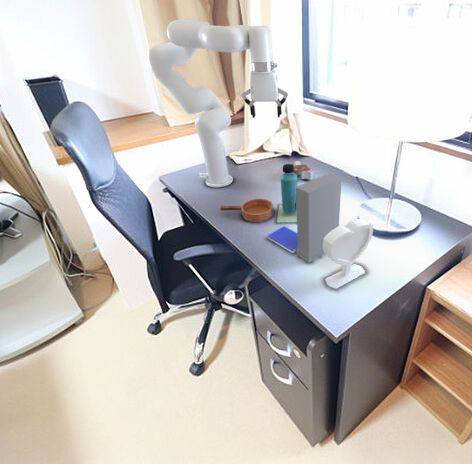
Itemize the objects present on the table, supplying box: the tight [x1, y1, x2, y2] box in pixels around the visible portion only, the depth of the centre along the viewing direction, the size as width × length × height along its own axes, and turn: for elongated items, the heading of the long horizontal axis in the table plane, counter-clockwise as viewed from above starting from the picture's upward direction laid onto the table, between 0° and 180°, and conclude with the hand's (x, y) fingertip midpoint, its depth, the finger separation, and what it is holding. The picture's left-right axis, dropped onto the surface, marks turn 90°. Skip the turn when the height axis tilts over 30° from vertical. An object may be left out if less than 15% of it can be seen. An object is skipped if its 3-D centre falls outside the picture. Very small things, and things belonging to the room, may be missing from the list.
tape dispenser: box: [292, 160, 315, 181], centre depth 153 cm, size 18×5×20 cm
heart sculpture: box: [323, 218, 374, 289], centre depth 91 cm, size 16×5×18 cm, turn 125°
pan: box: [240, 198, 274, 223], centre depth 125 cm, size 12×12×4 cm
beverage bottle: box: [279, 163, 298, 214], centre depth 120 cm, size 6×7×20 cm
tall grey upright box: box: [295, 172, 343, 263], centre depth 99 cm, size 14×6×25 cm, turn 133°
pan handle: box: [220, 205, 242, 211], centre depth 125 cm, size 8×2×1 cm, turn 89°
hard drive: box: [267, 226, 298, 254], centre depth 111 cm, size 2×8×12 cm
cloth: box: [276, 204, 297, 224], centre depth 126 cm, size 10×13×1 cm
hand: (266, 116), depth 123 cm, fingers open, 9 cm apart
